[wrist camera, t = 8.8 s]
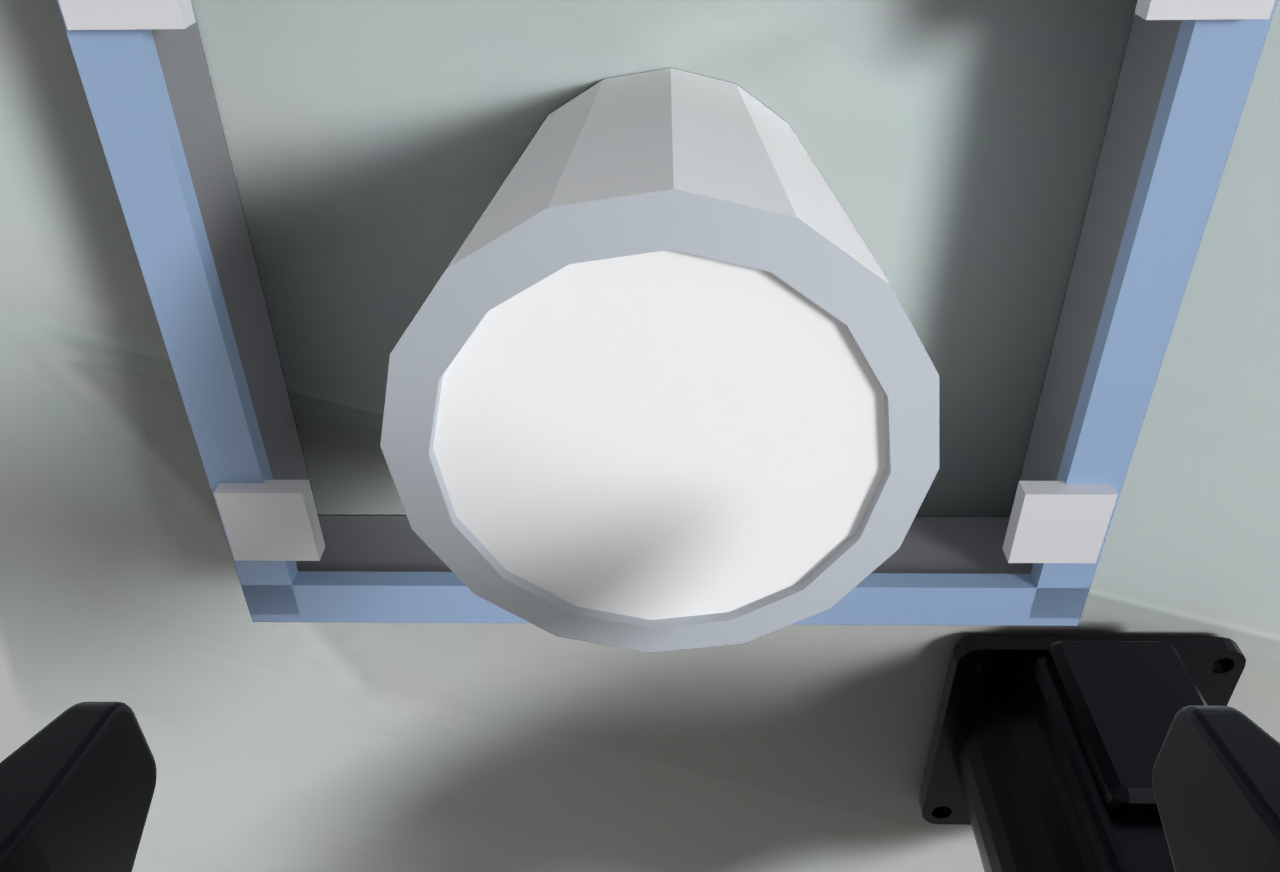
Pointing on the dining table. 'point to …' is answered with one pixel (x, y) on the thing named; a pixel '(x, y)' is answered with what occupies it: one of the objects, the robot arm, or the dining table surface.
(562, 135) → the light grey cup
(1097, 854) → the robot arm
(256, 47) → the dining table surface
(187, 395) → the two-slot open tray
